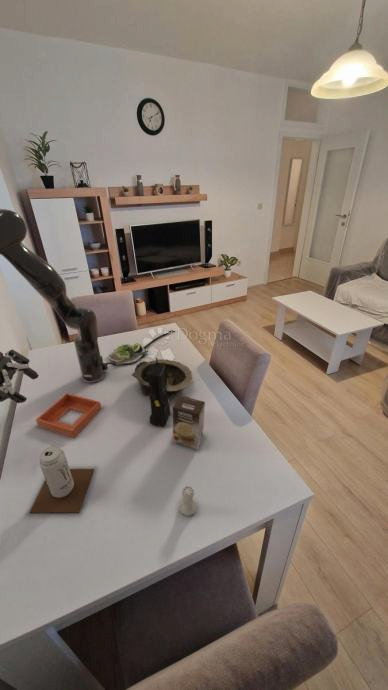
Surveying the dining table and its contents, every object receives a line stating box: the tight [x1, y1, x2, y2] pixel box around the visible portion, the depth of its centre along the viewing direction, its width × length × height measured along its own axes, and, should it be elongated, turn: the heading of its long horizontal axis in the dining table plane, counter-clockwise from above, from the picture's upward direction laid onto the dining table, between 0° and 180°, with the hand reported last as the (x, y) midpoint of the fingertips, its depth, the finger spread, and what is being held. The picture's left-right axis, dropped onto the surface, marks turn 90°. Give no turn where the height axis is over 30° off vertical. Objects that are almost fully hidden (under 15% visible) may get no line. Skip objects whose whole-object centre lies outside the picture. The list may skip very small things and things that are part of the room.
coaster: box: [28, 468, 95, 514], centre depth 78 cm, size 13×13×1 cm
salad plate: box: [107, 342, 149, 366], centre depth 139 cm, size 19×18×5 cm
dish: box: [35, 392, 102, 439], centre depth 102 cm, size 16×16×3 cm
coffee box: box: [172, 394, 206, 451], centre depth 91 cm, size 9×6×16 cm
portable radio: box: [146, 357, 171, 427], centre depth 96 cm, size 8×6×25 cm
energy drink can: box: [38, 445, 74, 498], centre depth 75 cm, size 6×6×15 cm
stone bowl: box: [131, 358, 194, 399], centre depth 118 cm, size 25×25×9 cm
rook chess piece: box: [179, 485, 197, 517], centre depth 73 cm, size 4×4×8 cm
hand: (30, 388), depth 79 cm, fingers open, 8 cm apart
